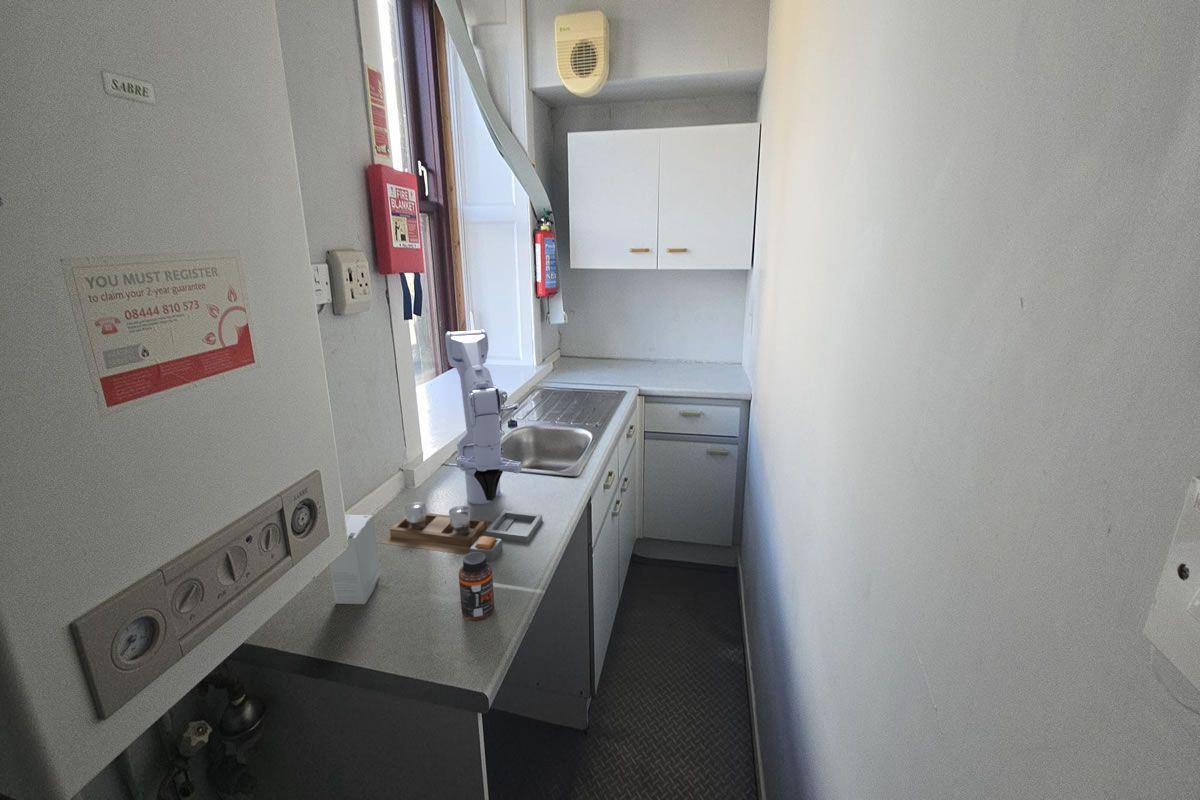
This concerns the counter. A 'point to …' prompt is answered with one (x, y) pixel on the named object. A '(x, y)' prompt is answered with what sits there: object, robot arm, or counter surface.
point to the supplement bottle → (476, 587)
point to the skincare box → (356, 562)
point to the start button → (486, 542)
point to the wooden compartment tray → (436, 535)
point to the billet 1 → (416, 515)
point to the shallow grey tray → (515, 526)
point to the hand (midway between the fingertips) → (491, 498)
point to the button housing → (489, 553)
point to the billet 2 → (460, 521)
